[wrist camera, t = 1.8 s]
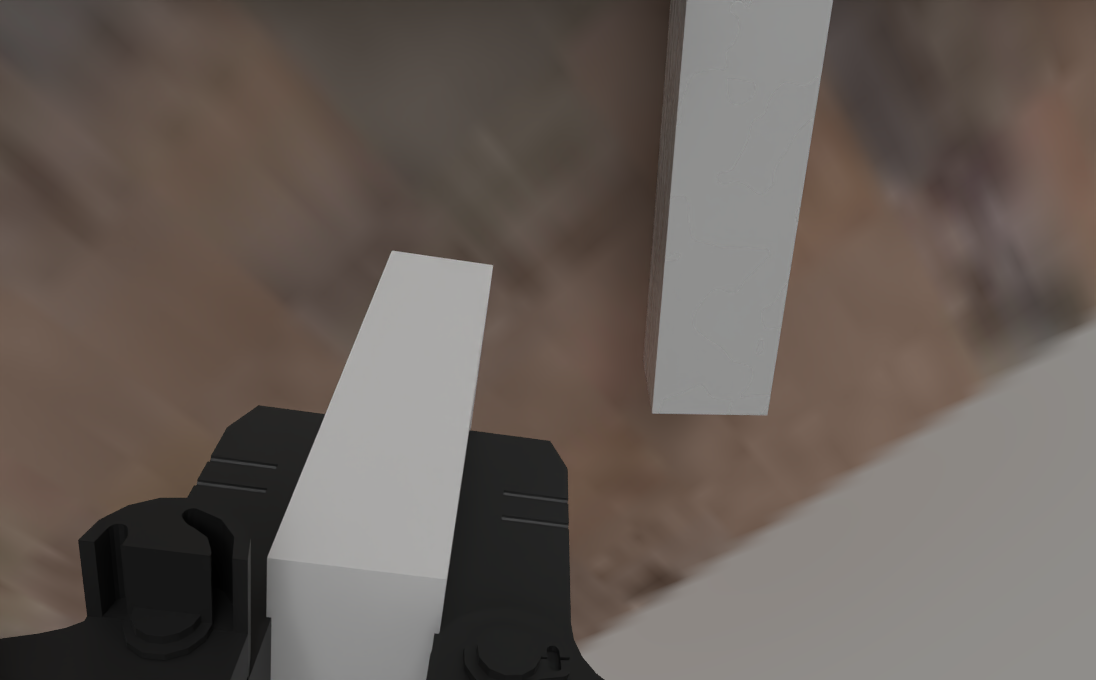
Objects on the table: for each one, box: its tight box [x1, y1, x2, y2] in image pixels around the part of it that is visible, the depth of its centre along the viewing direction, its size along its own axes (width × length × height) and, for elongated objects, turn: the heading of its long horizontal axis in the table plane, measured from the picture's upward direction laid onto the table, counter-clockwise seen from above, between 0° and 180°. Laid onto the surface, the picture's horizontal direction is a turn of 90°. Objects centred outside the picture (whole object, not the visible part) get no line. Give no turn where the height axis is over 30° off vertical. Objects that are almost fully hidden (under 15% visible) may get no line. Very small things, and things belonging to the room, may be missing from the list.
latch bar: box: [643, 0, 833, 415], centre depth 19 cm, size 16×4×3 cm, turn 179°
